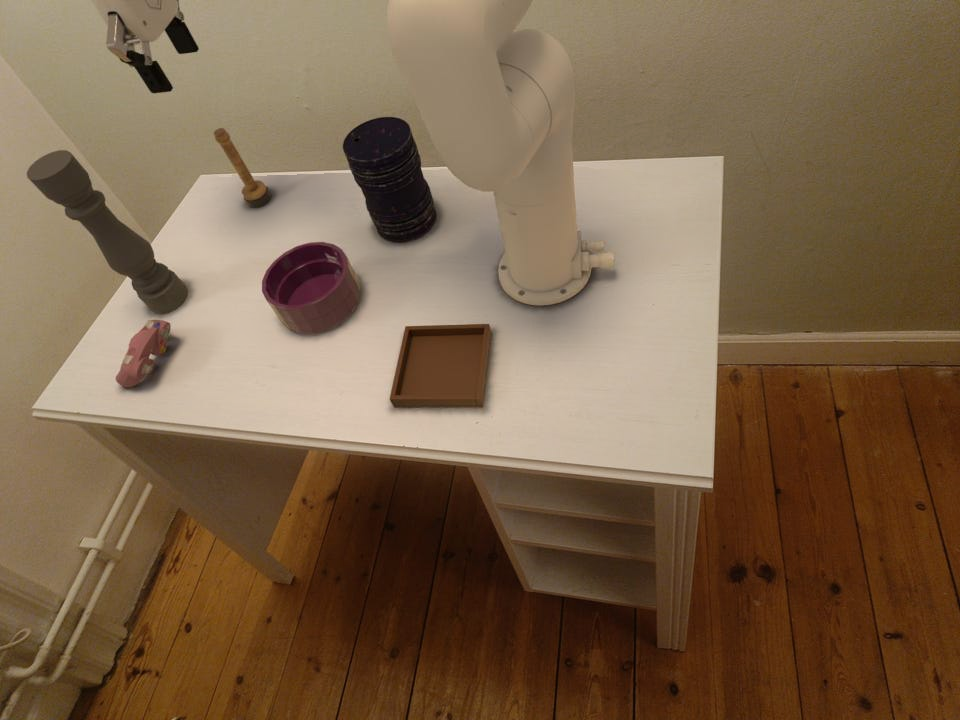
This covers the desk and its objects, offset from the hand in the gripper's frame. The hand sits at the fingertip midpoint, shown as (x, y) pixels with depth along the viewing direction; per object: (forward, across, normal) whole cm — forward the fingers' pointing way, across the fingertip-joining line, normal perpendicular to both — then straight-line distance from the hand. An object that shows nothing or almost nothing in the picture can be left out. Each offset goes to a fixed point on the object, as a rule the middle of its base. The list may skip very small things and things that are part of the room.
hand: (176, 71), depth 85 cm
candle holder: (+24, -20, +8) cm, 33 cm away
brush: (+24, +2, 0) cm, 24 cm away
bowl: (+24, -23, -18) cm, 37 cm away
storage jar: (+24, -7, -28) cm, 37 cm away
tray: (+24, -35, -38) cm, 57 cm away
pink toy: (+24, -32, +5) cm, 41 cm away
